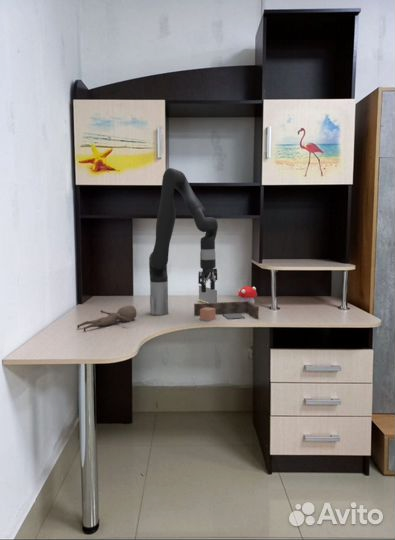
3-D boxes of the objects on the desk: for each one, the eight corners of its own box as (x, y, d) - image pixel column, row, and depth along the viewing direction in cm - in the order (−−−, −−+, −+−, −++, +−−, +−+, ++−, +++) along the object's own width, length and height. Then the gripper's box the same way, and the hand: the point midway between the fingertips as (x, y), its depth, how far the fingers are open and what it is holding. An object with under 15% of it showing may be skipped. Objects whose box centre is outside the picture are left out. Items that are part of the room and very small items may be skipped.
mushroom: (235, 308, 233) (236, 287, 232) (239, 304, 244) (240, 284, 242) (255, 309, 230) (255, 288, 228) (258, 305, 240) (258, 284, 239)
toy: (97, 343, 182) (151, 323, 202) (94, 326, 180) (149, 307, 201) (68, 332, 200) (120, 314, 221) (65, 316, 199) (118, 300, 219)
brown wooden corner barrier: (200, 322, 204) (200, 310, 203) (194, 315, 219) (194, 303, 218) (258, 318, 210) (258, 306, 209) (248, 312, 225) (248, 301, 224)
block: (209, 321, 206) (209, 310, 205) (200, 320, 209) (200, 309, 208) (215, 319, 210) (215, 308, 210) (206, 317, 213) (206, 307, 213)
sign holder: (197, 301, 253) (197, 285, 252) (200, 301, 254) (200, 285, 252) (215, 308, 235) (215, 290, 234) (218, 308, 236) (218, 290, 235)
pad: (227, 319, 209) (227, 318, 209) (222, 315, 218) (222, 314, 218) (244, 318, 211) (244, 317, 211) (239, 314, 220) (239, 313, 220)
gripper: (206, 260, 198) (207, 294, 200) (221, 257, 210) (221, 289, 212) (193, 259, 202) (194, 292, 204) (208, 256, 214) (209, 288, 216)
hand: (208, 290), depth 208 cm, fingers open, 8 cm apart
